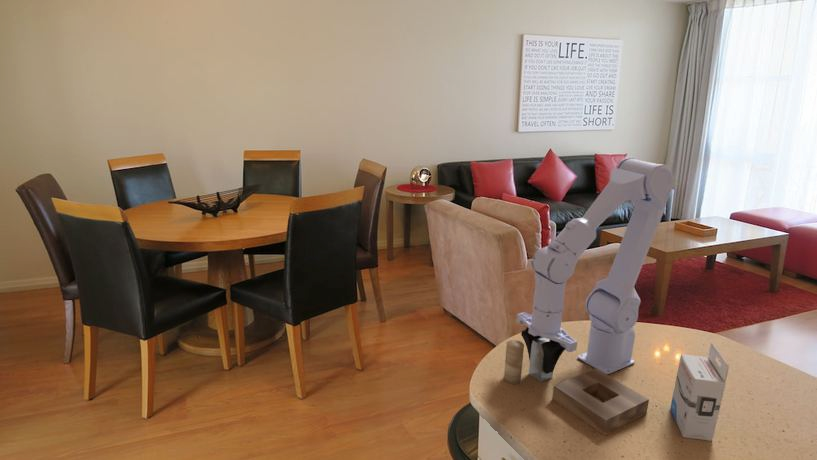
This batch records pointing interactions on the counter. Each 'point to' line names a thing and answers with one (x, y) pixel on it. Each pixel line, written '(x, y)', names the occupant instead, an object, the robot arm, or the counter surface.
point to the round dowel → (513, 361)
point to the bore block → (599, 415)
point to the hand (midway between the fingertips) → (541, 367)
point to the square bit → (538, 360)
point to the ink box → (699, 394)
